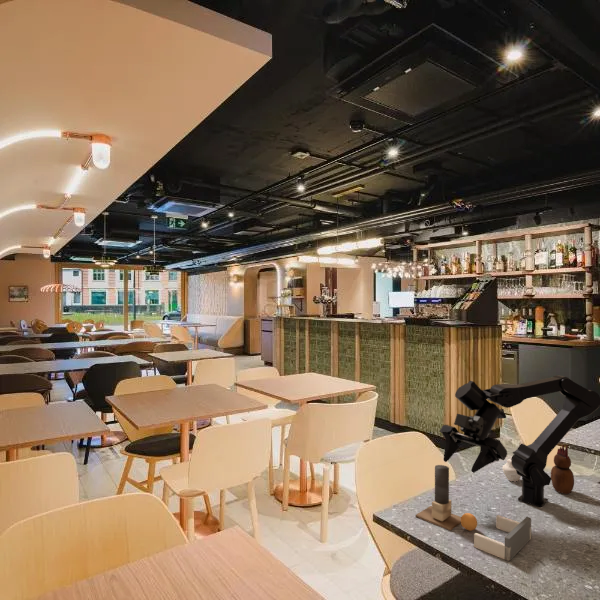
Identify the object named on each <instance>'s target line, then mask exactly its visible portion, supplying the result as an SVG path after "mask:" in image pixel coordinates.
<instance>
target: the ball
mask: <svg viewBox="0 0 600 600" xmlns="http://www.w3.org/2000/svg"><path fill="white" fill-rule="evenodd" d="M460 517H461V523H460V524H461V526H462V528H464V529H465V530H467V531H470V532H471V531H475V530H476V529H477V527H478V520H477V518H476V516H475V515H474V514H473V513H469V512H465V513H463V514H462V515H461V516H460Z"/></svg>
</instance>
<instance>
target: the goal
mask: <svg viewBox="0 0 600 600" xmlns="http://www.w3.org/2000/svg"><path fill="white" fill-rule="evenodd" d="M495 518H496V519H495V521H496V527H495V528H496V529H498V530H501V531H503V532H506V533H508V534H506V535H505V536H504V543H503V542H501V541H499V540H496V539H493V538H492V537H491V538H490V537H488V536H486V535H483V534H480V533H477V532H475V533H474V534H473V542H474V543H473V547H474V548H476V549H477V550H481V551H482V552H485V553H488V554H490V555H493V556H495V557H498V558H500V559H503V560H505V561H506V562H510V561H512V559H513V558H514V557H515V556H516V555H517V554H518V553H519V552H520V551H521V550H522V549H523V548H524V547H525V545H527V544H528V542H529V541H530V540H532V518H531V517H529V516H526V517H525V518H524V519H522V521H516V520H514V519H510V518H507V517H505V516H502V515H499V514H498V515H496V517H495Z"/></svg>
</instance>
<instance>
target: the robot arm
mask: <svg viewBox="0 0 600 600" xmlns="http://www.w3.org/2000/svg"><path fill="white" fill-rule="evenodd" d="M557 392H559V393H560V394H561V395H563V396H564V399H563V405H562V408H561V410H559V412H558V413H557V415H556V416H555V417H553V419H552V420H551V421H550V422H549V424H548V425H547V426H546V427H545V428H544V430H543V431H541V433H540V434H539V435H538V436H537V437H536V439H535V440H534V441H533V442H532V443H531V444H530V443H529V444H528V445H527V444H524V443H520V444H519V445H518V448H516V450H515V451H512V455H511V456H512V457H511V458H510V459H511V460H512V466H513V467H514V469H516V472H517V474H518V475H520V476H521V477H520V478H521V495H520V496H518V497H517V501H520V502H522V503H525V504H529V505H532V506H535V507H539V508H542V507H543V506H545V505H546V504H547V503H548V501H549V498H547V497H545V486H549V485H550V484H551V482H552V480H551V475H549V474H548V473H547V472H546V471H545V468H546V467H547V462H548V456H549V455H550V453H551V452H552V451H553V450H554V449H555V448H556V447H557V445H558V444H559V443H560V442H561V441H562V440H563V439H564V437H565V436H566V435H567V434H568V432H569V431H570V430H571V429H572V428H573V427H574V426H575V425H576V423H577V422H578V421H579V420H580V419H582V418H586V417H589V416H590V415H592V414H593V413H594V412H595V411H597V410H598V409H599V408H600V395H599V393H598V392H596V391H595V390H591V389H588V388H586V387H584V386H582V385H580V384H579V383H577V382H574V381H573V380H572V379H571V378H569V377H567V376H563V375H559V374H558V375H557V374H555V375H553V376H552V377H546V378H542V379H538V380H532V381H528V382H524V383H518V384H517V383H516V384H514V383H513V384H512V383H496V384H494V385H491V386H490V388H486V389H481V388H480V387H479V386H478V384H477V383H476V382H475V381H473V380H469V381H468V382H467V383H464V384H463V385H461V386H459V387H458V388H457V389H456V391H455V393H454V397H455V398H456V399H457V400H458V401H459V402H460V403H461V404H462V405H463V406H465V407H466V408H467V409H468V410H469V411H475V413H474V415H473V416H472V415H469V416H468V415H464V414H460V413H457V414H456V416H455V419H454V423H453V425H455V426H458V427H460V428H459V430H460V431H461V432H463V433H461V432H460V431H459V430H458V429H457V428H456V427H455V426H453V425H449V424H443V425H442V426H441V428H440V430H439V432H440V433H441V435H442V437H443V438H444V440H445V441H444V442H445V443H444V444H445V446H444V447H445V448H444V453H443V461H444V463H447V462H448V461H449V460H450V459H451V458H452V457H453V455H454V454H455V452H457V450H459V448H460V446H459V445H460V444H461V443H462V442H464V443H467V444H470V445H473V446H475V447H476V446H477V447H480V448H479V453H478V456H477V457H476V459H475V461H474V463H473V464H472V467H471V470H470V471H471V472H472V473H476V472H478V471H479V470H481V469H483V468H484V467H486V466H488V465H490V464H493V463H494V462H499V461H500V460H502V461H505V459H507V456H508V451H507V449H506V447H505V446H504V444H503V443H502V442H501V440H500V439H496V438H493V437H490V436H489V435H493V434H494V431H493V430H492V429H493V427H494V425H495V423H497V419H507V414H506V413H505V410H504V408H506V409H508V408H509V409H510V408H513V407H515V406H517V405H520V404H522V402H524V401H525V400H528V399H531V398H535V397H540V396H544V395H550V394H552V393H553V394H554V393H557ZM491 402H492V403H491ZM496 404H497V405H498V406H501V407H503V408H499V407H498V406H497V405H496Z"/></svg>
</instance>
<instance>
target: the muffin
mask: <svg viewBox="0 0 600 600" xmlns="http://www.w3.org/2000/svg"><path fill="white" fill-rule="evenodd" d="M502 470H503V474H504V476H505V478H506V479H508V481H509V480H510V481H509V482H512V481H514V483H517V482H518V481H520V479H521V478H522V477H521V476H520V475H518V474H517V472H516V469H514V467H513V466H512V460H511V458H508V459H507V460H506V463H505V464H503V465H502ZM516 481H517V482H516Z"/></svg>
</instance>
